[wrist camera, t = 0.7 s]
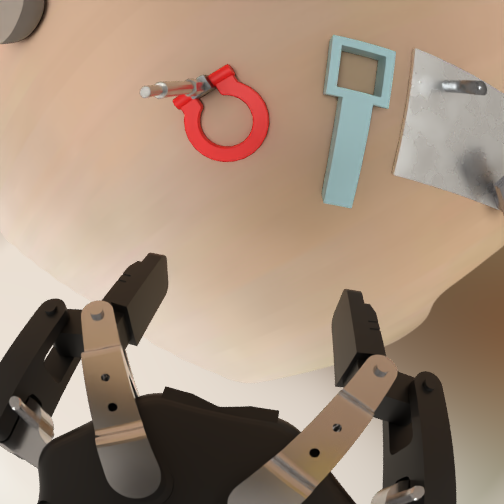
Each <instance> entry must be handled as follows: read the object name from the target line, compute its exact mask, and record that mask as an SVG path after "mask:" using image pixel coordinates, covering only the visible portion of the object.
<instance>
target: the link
mask: <svg viewBox="0 0 504 504" xmlns="http://www.w3.org/2000/svg"><path fill="white" fill-rule="evenodd" d="M341 51H344V52H348V53H352V54H356V55H360V56H364V57H368V58H372V59H375V60H378V65H377V74H376V81H375V88H374V95H370V94H366V93H362V92H358V91H354V90H350V89H346V88H341V87H337V81H338V73H339V65H340V57H341ZM395 55H396V52H395V51H392V50H389V49H386V48H383V47H380V46H376V45H373V44H369V43H366V42H362V41H358V40H354V39H350V38H346V37H341V36H336V35H333V36H332V38H331V39H330V42H329V51H328V59H327V68H326V75H325V83H324V91H323V94H325V95H330V96H335V97H338V102H337V109H336V115H335V121H334V128H333V134H332V140H331V145H330V151H329V157H328V162H327V167H326V173H325V178H324V183H323V188H322V193H321V194H322V198H323V202H324V203H326V204H332V205H337V206H342V207H347V208H352V204H353V200H354V196H355V192H356V188H357V184H358V179H359V175H360V170H361V166H362V161H363V156H364V151H365V146H366V141H367V136H368V131H369V125H370V120H371V114H372V108H373V106H376V107H380V108H387V109H388V108H389V102H390V95H391V88H392V81H393V73H394V65H395Z"/></svg>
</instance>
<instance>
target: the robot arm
mask: <svg viewBox="0 0 504 504" xmlns="http://www.w3.org/2000/svg"><path fill="white" fill-rule="evenodd" d="M167 289H168V271H167V258H166V256H165V255H160V254H155V253H149V254H148V255H147V256H146V257H145V258H144V260H143V261H142V262H140V261H137V262H135V263H134V264H132V265H130V266H129V267H128V268H127V269H126V270H125V272H124V273H123V275H121V277H120V278H119V279H118V281H117V282H116V283H115V284H114V285H113V287H112V288H111V289H110V290H109V292H108V293H107V294H106V296H105V297H104V298H103V300H102V301H94V302H91V303H89V304H88V305H86V306H85V307H84V308H83V310H76V309H67V308H66V305H65V303H64V302H63V301H62V300H60V299H50V300H47V301H45V302H44V303H43V304H42V305H41V306H40V307H39V308H38V310H37V311H36V312H35V313H34V315H33V316H32V317H31V319H30V320H29V321H28V323H27V324H26V325H25V327H24V328H23V330H22V331H21V332H20V334H19V335H18V337H17V338H16V339H15V341H14V342H13V344H12V345H11V347H10V348H9V350H8V351H7V353H6V354H5V356H4V357H3V359H2V360H1V362H0V446H1V447H3V448H4V449H6V450H7V451H9V452H10V453H13V454H14V455H16V456H17V457H19V458H21V459H24V460H26V461H27V462H29V463H30V464H32V465H33V466H35V467H37V468H38V471H39V481H40V493H39V500H38V503H37V504H356V503H355V502H354V501H353V500H352V498H351V497H350V496H349V495H348V493H347V492H346V491H345V490H344V488H343V487H342V486H341V485H340V483H339V482H338V481H337V479H336V478H335V477H334V475H333V474H332V473H331V470H332V469H333V468H334V467H335V466H336V464H337V463H338V462H339V461H340V459H341V458H342V457H343V456H344V455H345V454H346V452H347V451H348V450H349V449H350V447H351V446H352V445H353V444H354V442H355V441H356V440H357V439H358V437H359V436H360V435H361V433H362V432H363V431H364V429H365V428H366V426H367V425H368V424H369V422H370V421H371V419H372V418H373V417H375V418H378V419H381V420H383V489H382V490H380V491H379V492H377V493H376V494H375V496H374V497H373V499H372V501H371V504H456V479H455V478H456V477H455V464H454V454H453V446H452V438H451V431H450V424H449V419H448V413H447V407H446V402H445V397H444V392H443V388H442V384H441V382H440V380H439V379H438V377H437V376H435V375H434V374H432V373H430V372H426V371H425V372H421V373H419V374H418V375H417V376H416V377H415V378H414V377H411V376H408V375H406V374H403V373H400V372H398V371H397V368H396V365H395V364H394V362H393V361H392V360H390V359H389V358H388V357H386V354H385V349H384V344H383V340H382V336H381V331H380V327H379V324H378V319H377V315H376V312H375V311H374V310H373V308H372V307H371V305H370V304H364V300H363V296H362V293H361V291H355V290H349V289H344V291H343V293H342V295H341V298H340V300H339V303H338V305H337V307H336V310H335V312H334V315H333V319H332V338H333V353H334V369H335V386H336V387H344V388H343V390H341V391H340V392H339V393H338V394H337V395H336V396H335V397H334V398H333V399H332V401H331V402H330V403H329V404H328V405H327V406H326V407H325V408H324V409H323V410H322V411H321V412H320V414H319V415H318V416H317V417H316V418H315V419H314V420H313V421H312V422H311V423H310V424H309V425H308V426H307V427H306V428H305V429H304V430H303V431H302V432H300V431H299V430H298V429H297V428H296V427H294V426H293V425H291V424H290V423H288V422H286V421H284V420H282V419H279V418H278V414H279V411H278V410H271V409H264V408H257V407H252V406H249V407H218V406H216V405H214V404H212V403H210V402H207V401H206V400H204V399H202V398H200V397H198V396H195V395H194V394H191V393H187V392H183V391H180V390H176V389H173V388H169V387H165V389H164V392H163V393H153V394H146V395H143V396H139V393H138V390H137V388H136V385H135V381H134V378H133V375H132V371H131V368H130V364H129V361H128V357H127V353H126V350H125V349H126V347H127V345H128V344H132V345H135V346H137V345H138V343H139V341H140V340H141V338H142V336H143V334H144V332H145V331H146V329H147V327H148V325H149V323H150V322H151V320H152V318H153V316H154V315H155V313H156V311H157V309H158V308H159V306H160V304H161V302H162V301H163V299H164V297H165V295H166V293H167ZM52 345H54V346H53V348H52V349H51V351H50V353H49V355H48V356H47V358H46V359H45V356H46V354H47V353H48V351H49V349H50V348H51V347H52ZM44 359H45V361H44ZM81 359H82V366H83V374H84V380H85V386H86V391H87V396H88V402H89V407H90V412H91V417H92V421H90V422H88V423H86V424H84V425H82V426H80V427H78V428H76V429H74V430H72V431H70V432H68V433H66V434H64V435H61V436H59V437H57V438H55V439H53V440H52V438H53V437H54V432H53V430H54V424H53V421H52V419H51V417H52V415H53V413H54V410H55V408H56V406H57V404H58V402H59V400H60V398H61V396H62V394H63V392H64V390H65V388H66V386H67V384H68V382H69V380H70V378H71V376H72V374H73V373H74V371H75V369H76V367H77V365H78V363H79V361H80V360H81Z"/></svg>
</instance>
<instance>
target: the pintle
mask: <svg viewBox="0 0 504 504" xmlns="http://www.w3.org/2000/svg"><path fill="white" fill-rule="evenodd" d="M442 87H443V89H444V90H445V91H446V92H450V93H464V94H474V95H486V94H487V86H486V84H485V83H484V82H483V81H476V80H445V81H444V82H443V83H442Z"/></svg>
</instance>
